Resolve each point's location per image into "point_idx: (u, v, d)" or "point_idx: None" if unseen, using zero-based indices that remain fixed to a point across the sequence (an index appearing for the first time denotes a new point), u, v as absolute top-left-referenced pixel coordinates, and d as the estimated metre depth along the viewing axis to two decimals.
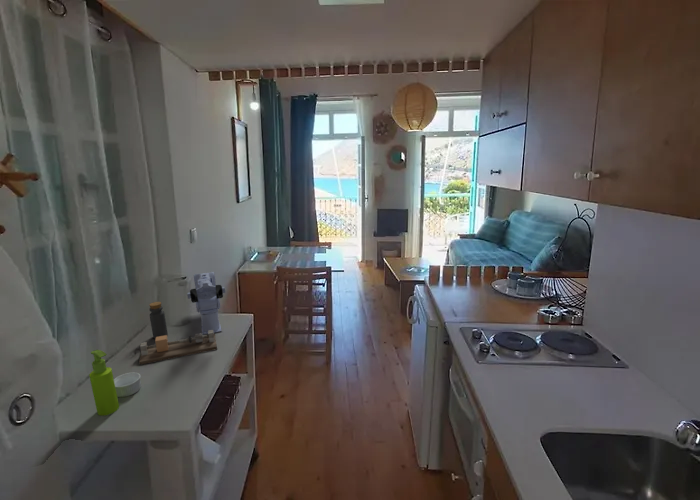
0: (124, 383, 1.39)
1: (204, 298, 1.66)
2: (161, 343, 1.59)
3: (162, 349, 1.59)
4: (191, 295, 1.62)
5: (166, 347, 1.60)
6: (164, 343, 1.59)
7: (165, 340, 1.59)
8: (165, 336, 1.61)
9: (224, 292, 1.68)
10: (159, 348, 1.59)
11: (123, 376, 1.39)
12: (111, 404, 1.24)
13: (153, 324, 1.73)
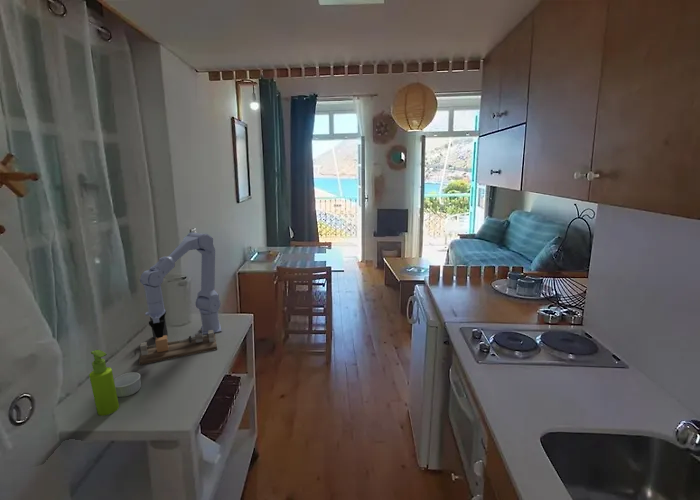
0: (124, 383, 1.39)
1: None
2: (161, 343, 1.59)
3: (162, 349, 1.59)
4: None
5: (166, 347, 1.60)
6: (164, 343, 1.59)
7: (165, 340, 1.59)
8: (165, 336, 1.61)
9: (158, 322, 1.52)
10: (159, 348, 1.59)
11: (123, 376, 1.39)
12: (111, 404, 1.24)
13: None
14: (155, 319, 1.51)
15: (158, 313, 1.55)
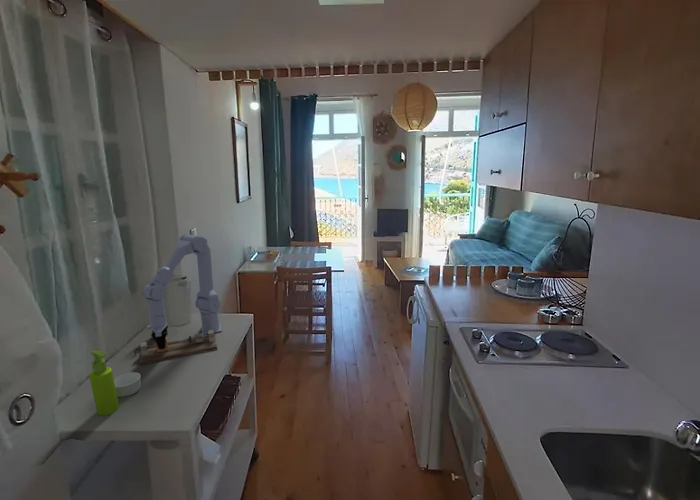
0: (124, 383, 1.39)
1: None
2: None
3: (162, 349, 1.59)
4: None
5: (166, 347, 1.60)
6: None
7: (165, 340, 1.59)
8: None
9: (161, 335, 1.53)
10: None
11: (123, 376, 1.39)
12: (111, 404, 1.24)
13: None
14: (157, 333, 1.52)
15: (160, 326, 1.57)
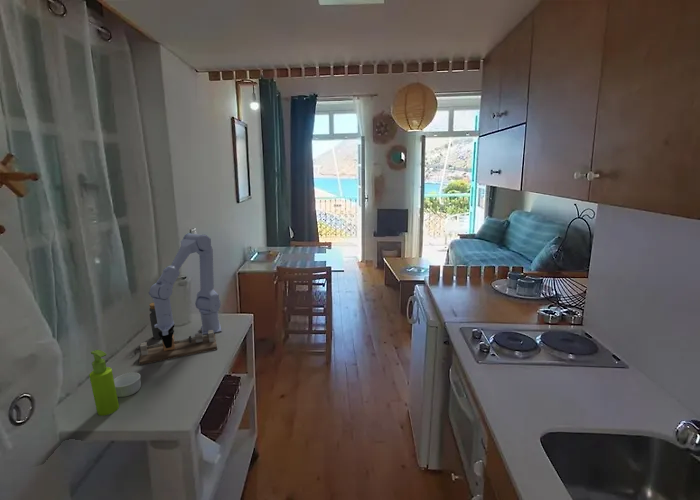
0: (124, 383, 1.39)
1: None
2: None
3: (169, 348, 1.60)
4: None
5: (173, 346, 1.61)
6: None
7: (172, 339, 1.60)
8: None
9: (168, 334, 1.54)
10: None
11: (123, 376, 1.39)
12: (111, 404, 1.24)
13: (153, 324, 1.73)
14: (164, 331, 1.53)
15: (167, 325, 1.57)
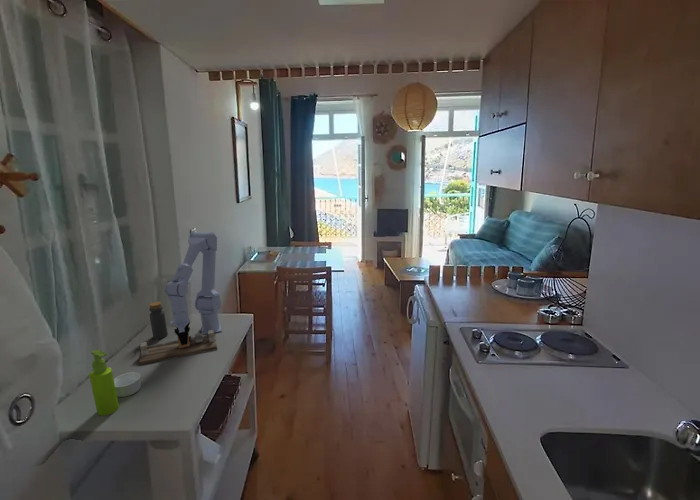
0: (124, 383, 1.39)
1: None
2: None
3: (184, 345, 1.62)
4: None
5: (188, 343, 1.63)
6: None
7: None
8: None
9: None
10: (181, 344, 1.62)
11: (123, 376, 1.39)
12: (111, 404, 1.24)
13: (153, 324, 1.73)
14: (181, 328, 1.55)
15: (183, 322, 1.59)
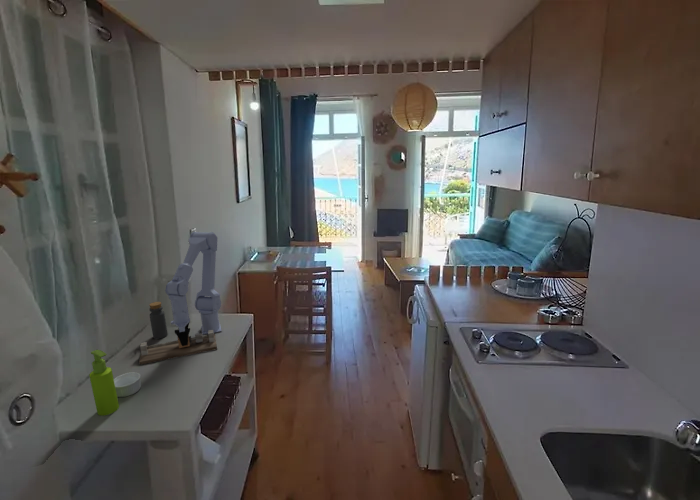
0: (124, 383, 1.39)
1: None
2: None
3: None
4: None
5: (188, 343, 1.63)
6: None
7: None
8: None
9: (184, 330, 1.56)
10: None
11: (123, 376, 1.39)
12: (111, 404, 1.24)
13: (153, 324, 1.73)
14: (181, 328, 1.55)
15: (183, 322, 1.59)
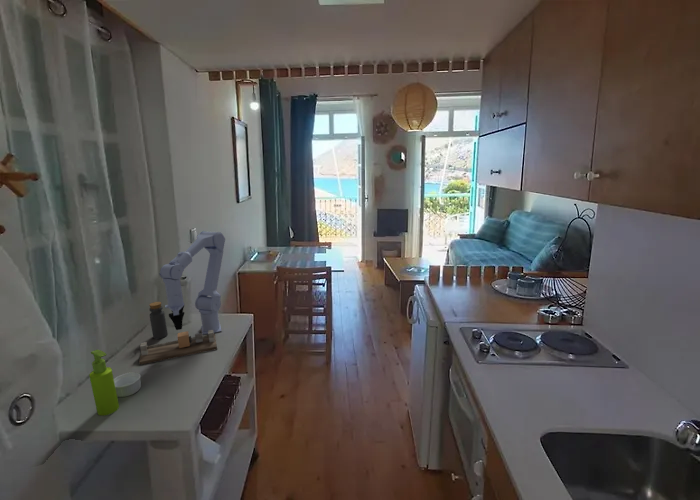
0: (124, 383, 1.39)
1: None
2: (183, 339, 1.62)
3: (184, 345, 1.62)
4: None
5: (188, 343, 1.63)
6: (186, 339, 1.62)
7: (187, 336, 1.62)
8: (187, 332, 1.64)
9: (178, 314, 1.56)
10: (181, 344, 1.62)
11: (123, 376, 1.38)
12: (111, 404, 1.24)
13: (153, 324, 1.73)
14: (175, 311, 1.55)
15: (177, 306, 1.59)
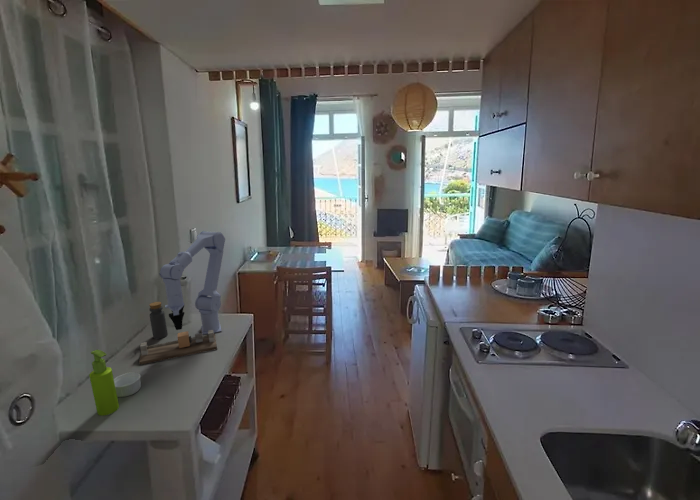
0: (124, 383, 1.39)
1: None
2: (183, 339, 1.62)
3: (184, 345, 1.62)
4: None
5: (188, 343, 1.63)
6: (186, 339, 1.62)
7: (187, 336, 1.62)
8: (187, 332, 1.64)
9: (178, 314, 1.56)
10: (181, 344, 1.62)
11: (123, 376, 1.38)
12: (111, 404, 1.24)
13: (153, 324, 1.73)
14: (175, 311, 1.55)
15: (177, 306, 1.59)
